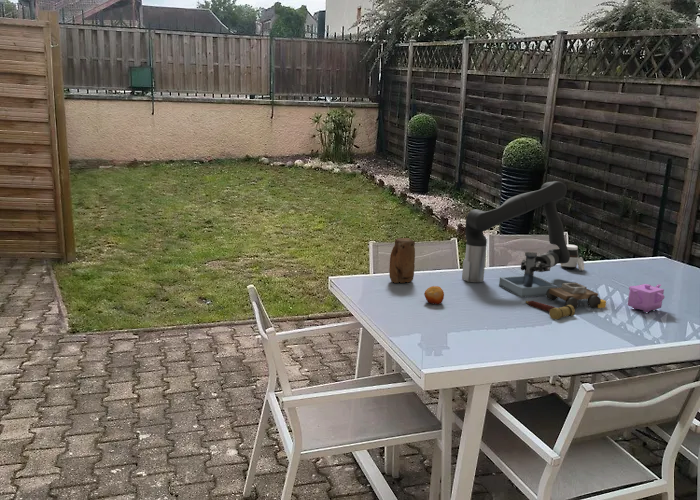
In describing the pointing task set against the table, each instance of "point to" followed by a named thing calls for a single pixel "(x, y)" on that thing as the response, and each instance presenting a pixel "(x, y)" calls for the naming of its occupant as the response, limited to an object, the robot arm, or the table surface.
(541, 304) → the gavel
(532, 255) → the pin
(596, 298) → the wheeled pole base
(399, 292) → the table surface
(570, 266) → the spread jar
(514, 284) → the tray
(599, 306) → the wheel chock
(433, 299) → the fruit
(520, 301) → the table surface
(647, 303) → the teapot
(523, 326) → the table surface
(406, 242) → the block
